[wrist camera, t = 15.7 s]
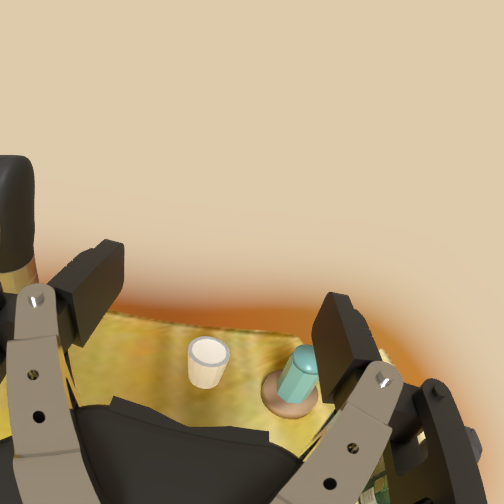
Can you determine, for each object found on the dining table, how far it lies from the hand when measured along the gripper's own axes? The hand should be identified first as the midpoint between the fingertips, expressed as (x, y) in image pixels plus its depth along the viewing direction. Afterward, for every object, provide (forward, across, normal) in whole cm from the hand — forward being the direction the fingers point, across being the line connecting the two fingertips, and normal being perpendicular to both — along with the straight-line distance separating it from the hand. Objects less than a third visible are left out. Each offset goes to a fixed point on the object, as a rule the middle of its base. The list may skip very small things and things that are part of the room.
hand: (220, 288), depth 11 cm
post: (+21, -15, +34) cm, 43 cm away
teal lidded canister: (+21, -15, +32) cm, 42 cm away
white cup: (+22, 0, +35) cm, 41 cm away
